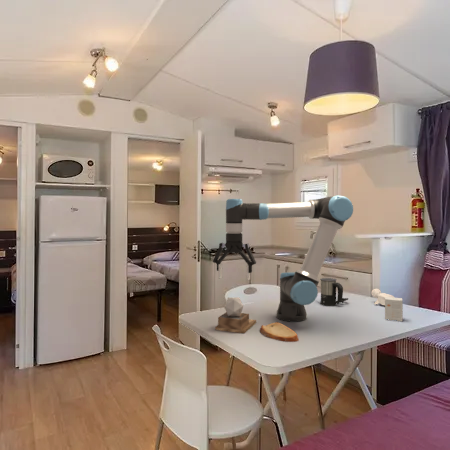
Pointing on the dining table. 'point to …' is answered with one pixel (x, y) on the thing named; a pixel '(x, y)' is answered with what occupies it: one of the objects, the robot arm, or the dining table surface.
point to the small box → (393, 308)
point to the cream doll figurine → (380, 296)
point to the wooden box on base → (235, 323)
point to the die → (233, 306)
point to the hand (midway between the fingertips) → (234, 279)
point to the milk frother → (331, 292)
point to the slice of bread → (279, 332)
